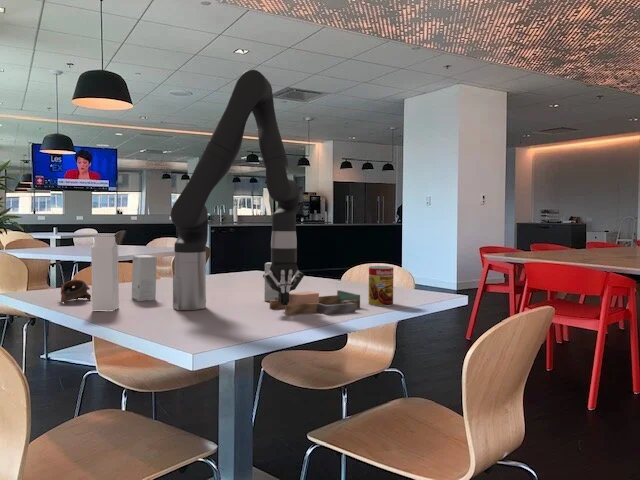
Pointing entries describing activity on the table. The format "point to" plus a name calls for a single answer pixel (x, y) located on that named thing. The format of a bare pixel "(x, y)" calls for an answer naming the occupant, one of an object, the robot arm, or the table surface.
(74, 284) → the brown dome piece
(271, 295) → the supplement box
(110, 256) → the milk
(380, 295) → the canned food
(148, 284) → the skincare box
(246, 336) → the table surface
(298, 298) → the block
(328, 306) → the channel
